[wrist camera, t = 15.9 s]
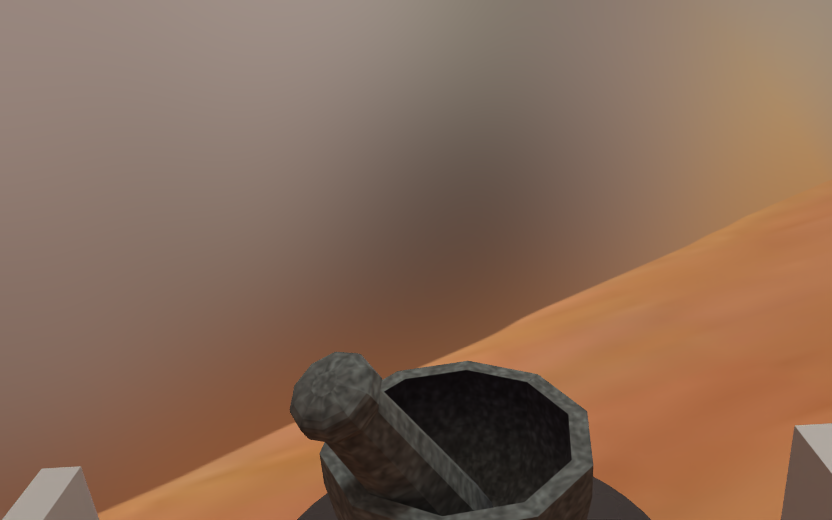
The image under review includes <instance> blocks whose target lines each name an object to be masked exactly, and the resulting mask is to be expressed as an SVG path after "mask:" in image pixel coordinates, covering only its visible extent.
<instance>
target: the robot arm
mask: <svg viewBox="0 0 832 520" xmlns="http://www.w3.org/2000/svg"><path fill="white" fill-rule="evenodd" d="M2 520H99V518H98V515H97V512H96V509H95V506H94V503H93V500H92V497H91V494H90V491H89V489H88V486H87V483H86V480H85V477H84V474H83V471H82V468H81V467H64V468H47V469H41V471H40V472H39V473H38V474H37V476H36V477H35V478H34V480H33V481H32V482H31V483H30V485H29V486H28V487H27V488H26V490H25V491H24V492H23V494H22V495H21V496H20V497H19V499H18V500H17V501H16V503H15V504H14V505H13V506H12V508H11V509H10V510H9V512H8V513H7V514H6V515H5V517H4V518H3V519H2ZM781 520H832V423H831V424H814V425H796V426H795V427H794V434H793V440H792V447H791V454H790V461H789V468H788V475H787V482H786V488H785V495H784V502H783V509H782V516H781Z"/></svg>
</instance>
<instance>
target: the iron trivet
mask: <svg viewBox="0 0 832 520" xmlns="http://www.w3.org/2000/svg"><path fill="white" fill-rule="evenodd" d="M297 520H338V518H337V516H336V514H335V512H334V509H333V506H332V503H331V501H330V498H329V495H328V493H327V494H326V495H324V496H323V497H322V498H321V499H319V500H318V501H317V502H315V503H314V504H313V505H312V506H311V507H310V508H309V509H308V510H307V511H306V512H305V513H303V514H302V515H301V516H300V517H299V518H298V519H297ZM587 520H651V519H650V518H649V517H648V516H647V515H646V514H645V513H644V512H643V511H642V510H641V509H639V508H638V507H637V506H636V505H635V504H633V503H632V502H631V501H630V500H629V499H627V498H626V497H625V496H623V495H622V494H621V493H619V492H618V491H616V490H615V489H613V488H612V487H610V486H609V485H607V484H606V483H604V482H602V481H600V480H598V479H596V478H594V477H593V489H592V500H591V504H590V508H589V513H588V517H587Z"/></svg>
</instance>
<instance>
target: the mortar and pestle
mask: <svg viewBox="0 0 832 520" xmlns="http://www.w3.org/2000/svg"><path fill="white" fill-rule="evenodd" d="M290 413H291V415H292V416H293V418H294V420H295V422H296V423H297V425H298V427H299V428H300V430H301V431H302V432H303V433H304V434H305V435H306V436H307V437H308V438H309V439H310V440H317V441H323V442H325V443H324V445H323V447H322V450H321V452H320V459H321V465H322V472H323V478H324V484H325V487H326V490H327V492H328V495H329V498H330V501H331V503H332V506H333V509H334V512H335V514H336V516H337V518H338V520H587V517H588V513H589V508H590V504H591V500H592V489H593V459H592V450H591V442H590V433H589V424H588V415H587V411H586V410H585V409H583V408H582V407H581V406H579V405H578V404H577V403H575V402H574V401H573V400H571V399H570V398H569V397H567V396H566V395H565V394H563V393H562V392H561V391H559V390H558V389H557V388H555V387H554V386H553V385H551V384H550V383H549V382H547V381H546V380H545V379H543V378H542V377H541V376H539V375H538V374H533V373H528V372H523V371H518V370H513V369H508V368H502V367H497V366H492V365H487V364H482V363H477V362H472V361H464V362H457V363H451V364H444V365H437V366H430V367H423V368H417V369H410V370H403V371H397V372H395V373H394V374H392V375H390V376H389V377H387V378H385V379H383V380H382V378H381V377H380V375H379V374H378V373H377V372H376V371H375V370H374V369H373V368H372V366H371V365H369V363H368V362H367V361H366V360H365V359H364V357H363V356H362V355H361V354H357V353H344V352H334V353H332V354H330V355H328V356H327V357H324V358H322V359H321V360H319V361H317V362H315V363H313V364H311V366H310V367H309V368H308V369H307V371H306V372H305V373H304V374H303V376H302V377H301V378H300V379H299V381H298V382H297V383H296V384H295V386H294V391H293V397H292V401H291V406H290Z"/></svg>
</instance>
